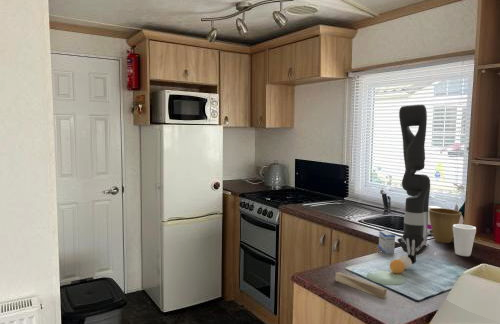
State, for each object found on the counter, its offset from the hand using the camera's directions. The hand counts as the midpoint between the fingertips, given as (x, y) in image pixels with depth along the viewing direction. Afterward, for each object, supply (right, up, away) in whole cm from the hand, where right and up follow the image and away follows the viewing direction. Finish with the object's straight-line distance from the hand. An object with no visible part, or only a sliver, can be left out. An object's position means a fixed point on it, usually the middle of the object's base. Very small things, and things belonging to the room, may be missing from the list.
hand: (411, 263), depth 161 cm
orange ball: (-9, 0, -7) cm, 11 cm away
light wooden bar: (-28, -3, -22) cm, 36 cm away
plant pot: (+33, +1, +40) cm, 52 cm away
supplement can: (+35, +2, +56) cm, 66 cm away
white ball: (-4, +1, -2) cm, 4 cm away
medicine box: (-3, 0, +23) cm, 23 cm away
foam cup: (+32, -1, +19) cm, 37 cm away
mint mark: (-15, -3, -11) cm, 19 cm away
